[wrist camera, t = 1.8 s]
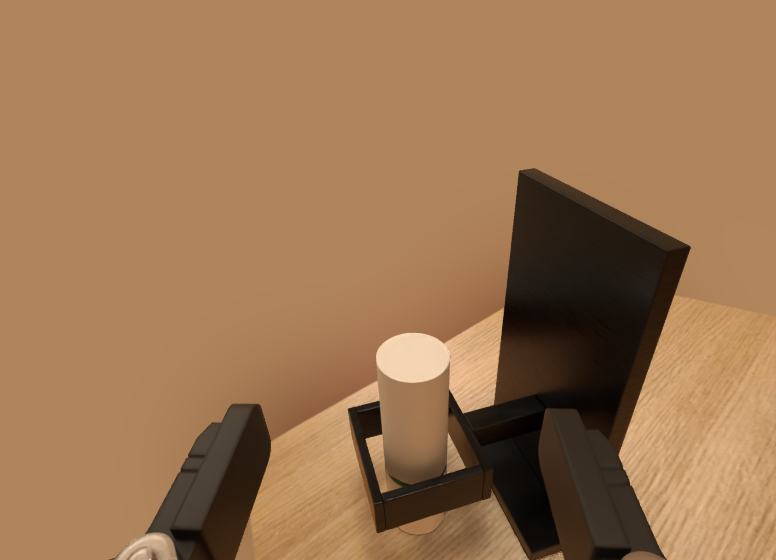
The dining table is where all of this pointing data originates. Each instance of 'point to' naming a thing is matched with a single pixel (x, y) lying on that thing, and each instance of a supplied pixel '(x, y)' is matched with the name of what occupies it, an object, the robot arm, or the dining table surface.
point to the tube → (414, 413)
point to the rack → (548, 356)
